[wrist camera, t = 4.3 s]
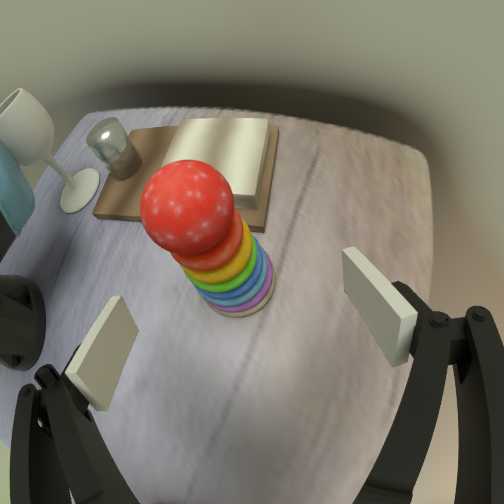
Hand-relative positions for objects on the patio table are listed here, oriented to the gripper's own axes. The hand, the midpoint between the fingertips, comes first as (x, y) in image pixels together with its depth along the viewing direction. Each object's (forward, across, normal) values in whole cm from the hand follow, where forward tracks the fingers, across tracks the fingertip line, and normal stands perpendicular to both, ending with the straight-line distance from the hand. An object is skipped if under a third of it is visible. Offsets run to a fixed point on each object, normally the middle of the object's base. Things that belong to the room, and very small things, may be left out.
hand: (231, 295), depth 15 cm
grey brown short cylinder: (+26, -14, +9) cm, 30 cm away
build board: (+24, -6, +6) cm, 26 cm away
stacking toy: (+13, -1, -6) cm, 14 cm away
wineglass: (+27, -24, +8) cm, 37 cm away
